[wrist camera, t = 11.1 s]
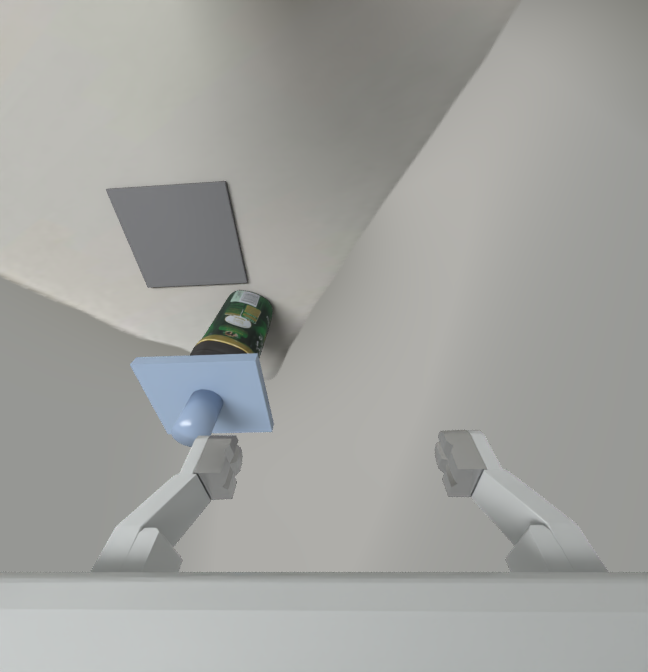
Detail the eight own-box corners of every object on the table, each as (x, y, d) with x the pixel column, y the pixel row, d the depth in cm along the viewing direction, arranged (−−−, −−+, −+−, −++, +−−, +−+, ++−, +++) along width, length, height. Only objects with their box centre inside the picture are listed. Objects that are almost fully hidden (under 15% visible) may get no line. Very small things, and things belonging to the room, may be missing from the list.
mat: (108, 188, 38) (105, 189, 38) (225, 181, 37) (224, 181, 37) (149, 286, 46) (147, 287, 45) (247, 281, 45) (246, 282, 44)
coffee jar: (264, 343, 52) (236, 427, 36) (220, 329, 50) (171, 411, 35) (279, 298, 47) (254, 373, 31) (231, 281, 45) (179, 351, 30)
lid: (136, 357, 30) (99, 397, 25) (257, 353, 30) (243, 393, 25) (172, 426, 36) (148, 468, 31) (273, 423, 36) (264, 467, 31)
